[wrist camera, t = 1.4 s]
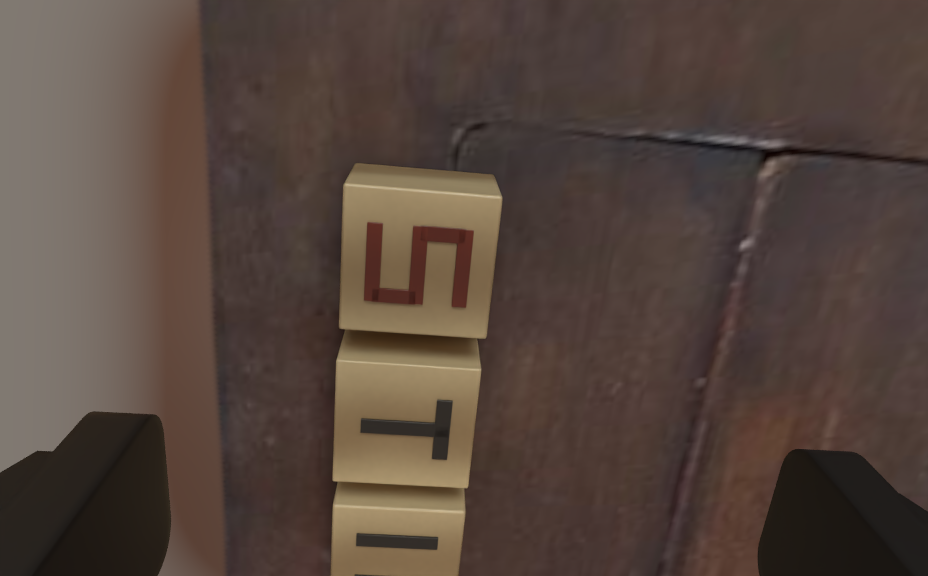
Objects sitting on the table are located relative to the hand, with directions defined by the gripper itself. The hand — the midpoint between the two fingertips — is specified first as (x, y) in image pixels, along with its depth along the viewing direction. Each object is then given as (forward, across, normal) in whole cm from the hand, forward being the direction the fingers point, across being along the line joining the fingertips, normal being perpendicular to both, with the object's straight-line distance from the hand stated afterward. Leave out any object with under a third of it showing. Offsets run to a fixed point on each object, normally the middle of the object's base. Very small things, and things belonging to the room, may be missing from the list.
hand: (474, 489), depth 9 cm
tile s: (+15, +1, +1) cm, 15 cm away
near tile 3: (+15, +1, +12) cm, 19 cm away
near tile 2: (+15, +1, +7) cm, 16 cm away
